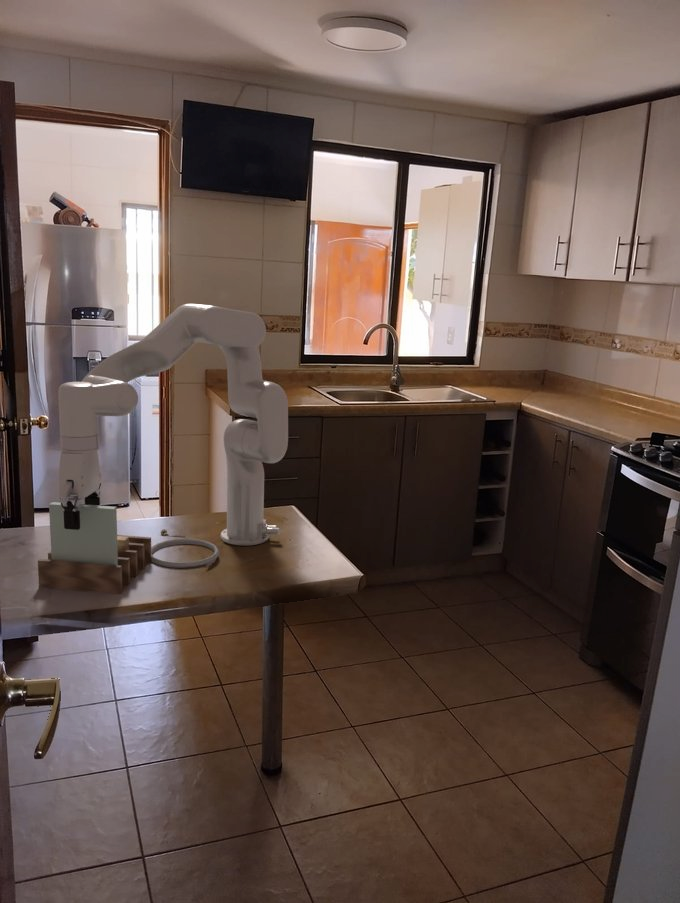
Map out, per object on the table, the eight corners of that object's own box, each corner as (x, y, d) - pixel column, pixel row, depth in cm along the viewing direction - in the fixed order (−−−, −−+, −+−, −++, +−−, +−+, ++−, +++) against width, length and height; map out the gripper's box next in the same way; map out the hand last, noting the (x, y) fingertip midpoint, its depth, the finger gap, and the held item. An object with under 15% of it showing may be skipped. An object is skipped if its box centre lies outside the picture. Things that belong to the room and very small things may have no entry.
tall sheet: (118, 586, 160) (116, 506, 156) (115, 589, 159) (113, 509, 154) (56, 581, 161) (52, 501, 157) (52, 583, 160) (48, 504, 156)
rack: (151, 565, 175) (151, 537, 173) (120, 598, 157) (119, 567, 155) (78, 559, 176) (77, 531, 175) (39, 591, 158) (37, 560, 157)
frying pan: (194, 522, 200) (228, 556, 176) (194, 532, 200) (228, 568, 176) (130, 529, 192) (156, 566, 168) (130, 540, 193) (157, 578, 169)
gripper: (80, 432, 161) (83, 507, 165) (41, 450, 144) (45, 533, 148) (114, 435, 161) (116, 510, 165) (78, 453, 144) (81, 536, 148)
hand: (82, 521), depth 156 cm, fingers open, 9 cm apart
